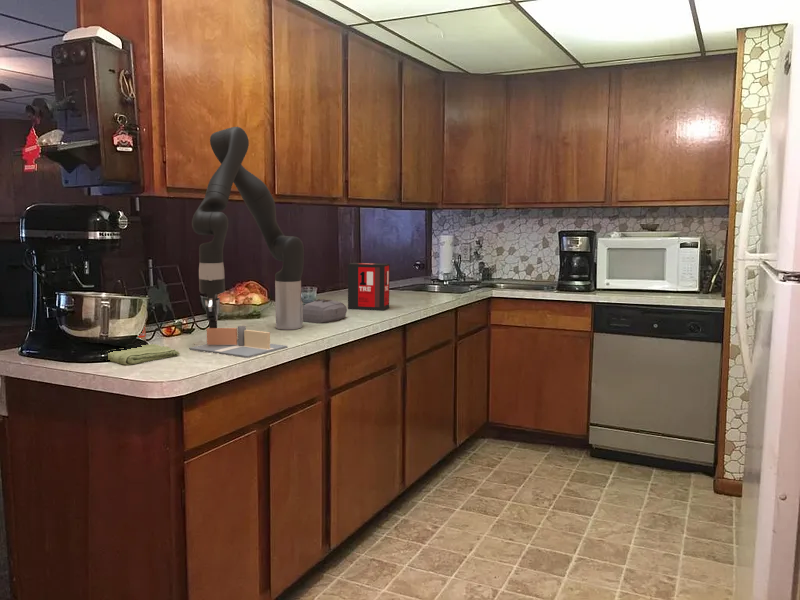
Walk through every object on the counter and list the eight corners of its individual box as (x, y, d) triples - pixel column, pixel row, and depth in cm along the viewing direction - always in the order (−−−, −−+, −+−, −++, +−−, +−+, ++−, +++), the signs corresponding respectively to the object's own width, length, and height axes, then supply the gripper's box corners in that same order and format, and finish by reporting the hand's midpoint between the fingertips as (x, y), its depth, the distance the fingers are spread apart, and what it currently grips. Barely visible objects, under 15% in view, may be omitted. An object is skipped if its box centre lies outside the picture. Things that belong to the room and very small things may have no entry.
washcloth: (182, 357, 189) (182, 346, 189) (127, 368, 175) (126, 356, 174) (154, 351, 197) (154, 340, 196) (99, 361, 182) (98, 350, 182)
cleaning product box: (389, 308, 294) (389, 263, 292) (384, 310, 285) (384, 265, 283) (354, 306, 298) (354, 262, 295) (347, 309, 289) (348, 264, 287)
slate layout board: (230, 340, 213) (230, 320, 212) (287, 347, 203) (287, 326, 202) (189, 349, 198) (188, 328, 197) (248, 357, 187) (247, 335, 186)
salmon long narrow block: (237, 343, 202) (237, 327, 202) (236, 344, 201) (236, 328, 201) (207, 343, 202) (207, 327, 201) (207, 344, 201) (206, 328, 200)
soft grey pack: (326, 324, 247) (354, 318, 265) (326, 303, 246) (354, 297, 264) (294, 321, 254) (323, 315, 272) (293, 300, 253) (323, 295, 271)
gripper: (202, 274, 207) (203, 328, 209) (196, 279, 194) (197, 337, 196) (226, 274, 208) (227, 328, 210) (222, 279, 195) (223, 336, 197)
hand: (213, 332), depth 203 cm, fingers closed
